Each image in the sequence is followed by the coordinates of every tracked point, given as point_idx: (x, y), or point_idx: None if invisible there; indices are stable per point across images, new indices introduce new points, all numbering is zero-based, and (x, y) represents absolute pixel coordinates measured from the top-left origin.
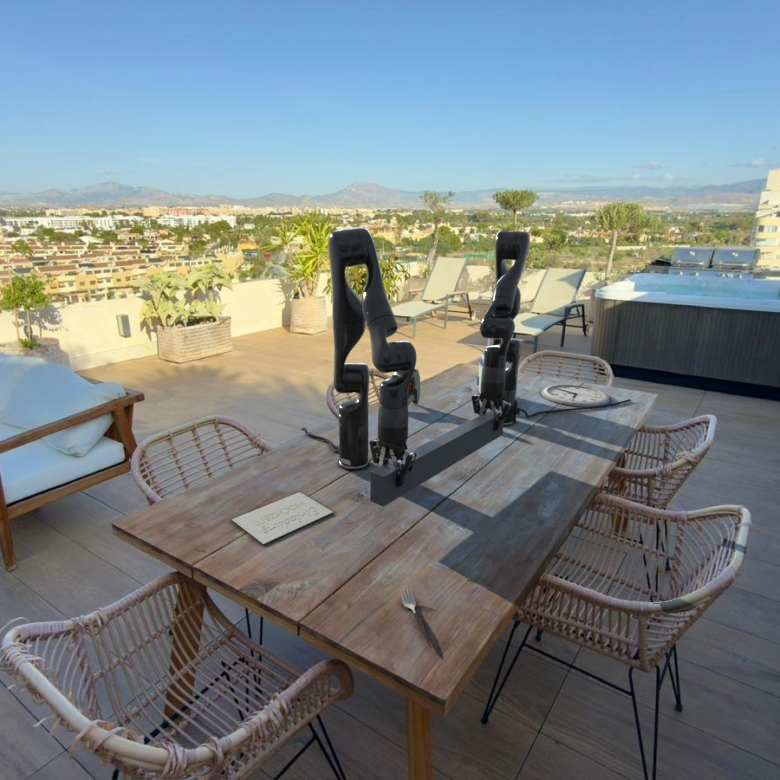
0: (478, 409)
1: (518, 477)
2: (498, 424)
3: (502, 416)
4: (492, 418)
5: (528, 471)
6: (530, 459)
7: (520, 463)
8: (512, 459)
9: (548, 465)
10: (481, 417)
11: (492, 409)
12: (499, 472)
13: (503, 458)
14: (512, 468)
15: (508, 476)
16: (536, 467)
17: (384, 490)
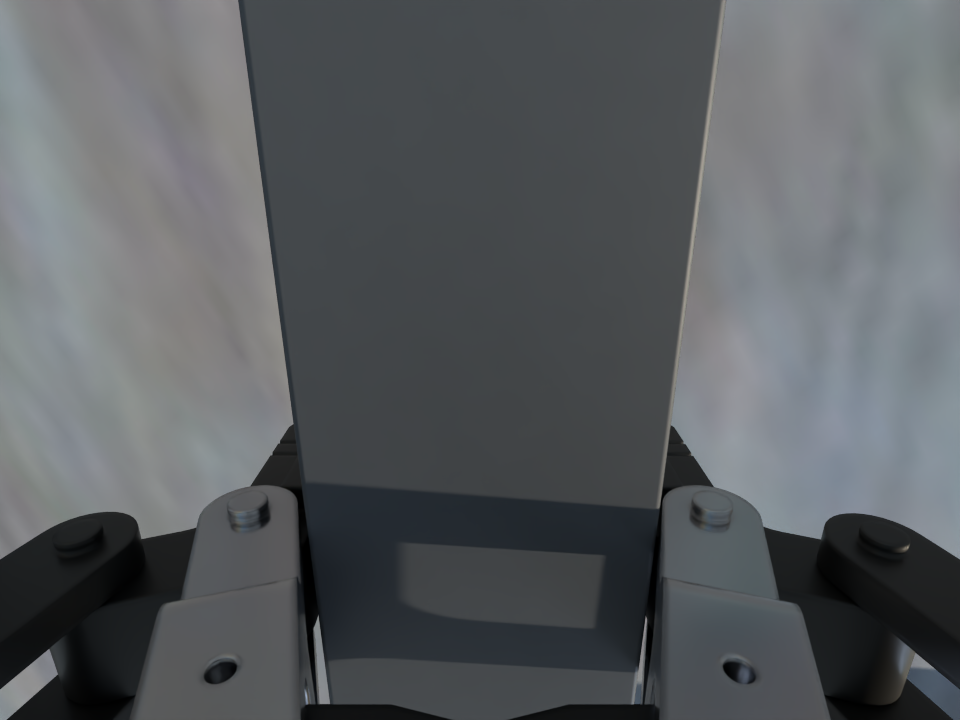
0: (858, 654)
1: (12, 90)
2: (261, 472)
3: (11, 593)
4: (297, 446)
5: (47, 272)
6: (188, 482)
7: (193, 368)
8: (286, 393)
9: (29, 474)
10: (569, 308)
11: (283, 699)
12: (198, 62)
13: None
14: (174, 232)
15: (84, 40)
16: (60, 385)
17: None
